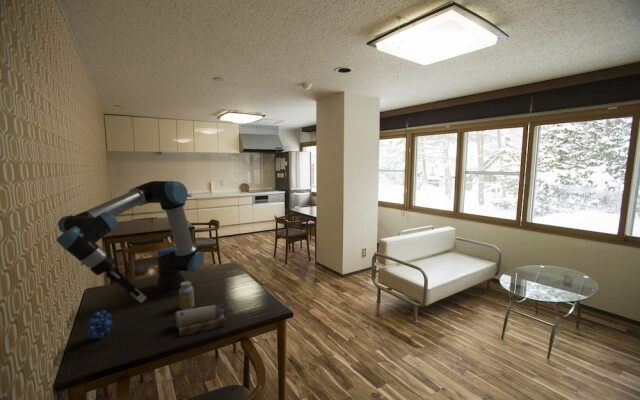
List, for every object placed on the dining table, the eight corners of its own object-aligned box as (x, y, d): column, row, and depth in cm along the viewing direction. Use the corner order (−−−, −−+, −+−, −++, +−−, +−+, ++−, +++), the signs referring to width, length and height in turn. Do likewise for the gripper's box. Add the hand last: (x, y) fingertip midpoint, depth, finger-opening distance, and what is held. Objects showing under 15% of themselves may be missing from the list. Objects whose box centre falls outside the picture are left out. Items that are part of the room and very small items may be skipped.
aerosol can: (176, 318, 130) (223, 309, 138) (176, 331, 125) (224, 322, 132) (175, 308, 126) (223, 300, 134) (174, 321, 121) (224, 312, 129)
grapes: (98, 347, 112) (96, 318, 111) (82, 346, 113) (80, 317, 112) (121, 330, 124) (119, 304, 123) (107, 330, 124) (105, 303, 123)
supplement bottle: (182, 304, 148) (181, 280, 147) (196, 304, 148) (194, 280, 147) (177, 310, 141) (176, 285, 140) (191, 310, 142) (190, 285, 140)
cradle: (179, 336, 120) (178, 330, 119) (178, 318, 134) (178, 313, 134) (226, 325, 128) (226, 319, 128) (221, 309, 142) (221, 304, 142)
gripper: (86, 267, 114) (131, 304, 123) (91, 270, 104) (140, 310, 114) (104, 253, 118) (147, 290, 127) (111, 255, 109) (156, 295, 118)
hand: (143, 300), depth 121 cm, fingers closed
